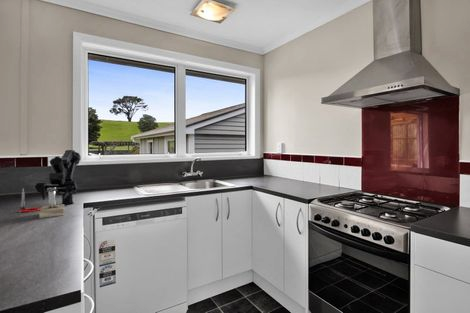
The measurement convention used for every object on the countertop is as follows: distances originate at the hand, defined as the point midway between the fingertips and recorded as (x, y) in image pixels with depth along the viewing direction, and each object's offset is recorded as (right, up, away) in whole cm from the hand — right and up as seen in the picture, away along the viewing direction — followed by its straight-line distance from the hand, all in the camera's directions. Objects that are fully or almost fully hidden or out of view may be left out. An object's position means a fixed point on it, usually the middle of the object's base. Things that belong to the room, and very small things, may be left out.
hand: (53, 199), depth 137 cm
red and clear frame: (-17, -8, +7) cm, 20 cm away
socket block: (+1, -8, -2) cm, 8 cm away
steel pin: (+1, -8, -2) cm, 8 cm away
